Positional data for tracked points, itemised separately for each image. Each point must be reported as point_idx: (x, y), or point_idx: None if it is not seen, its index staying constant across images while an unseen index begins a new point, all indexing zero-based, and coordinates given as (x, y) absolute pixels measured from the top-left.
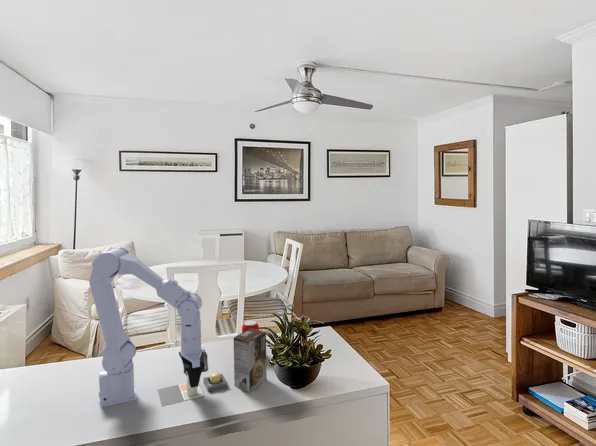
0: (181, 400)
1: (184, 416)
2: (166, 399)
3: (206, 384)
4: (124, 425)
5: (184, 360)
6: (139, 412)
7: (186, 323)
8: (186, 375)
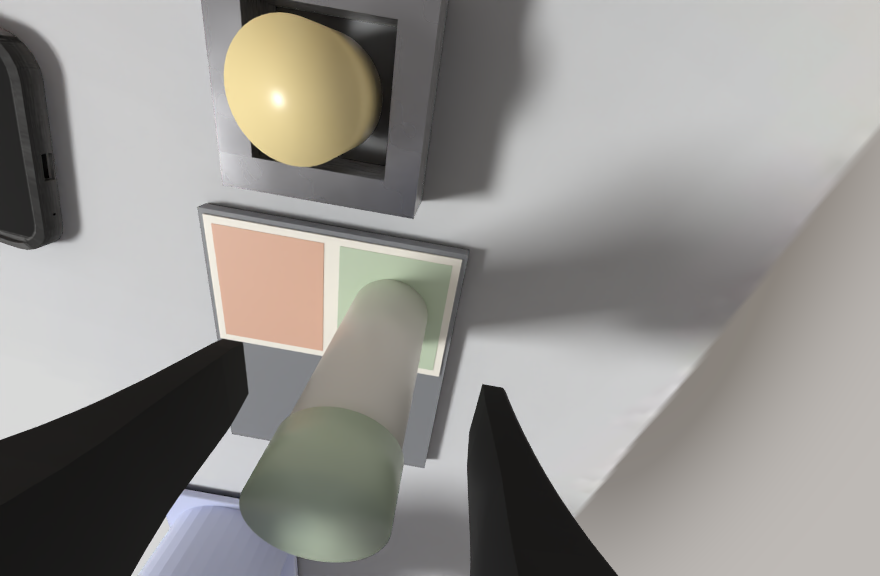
0: (428, 386)
1: (584, 412)
2: None
3: (355, 207)
4: (464, 568)
5: (116, 570)
6: (403, 520)
7: None
8: (247, 392)
